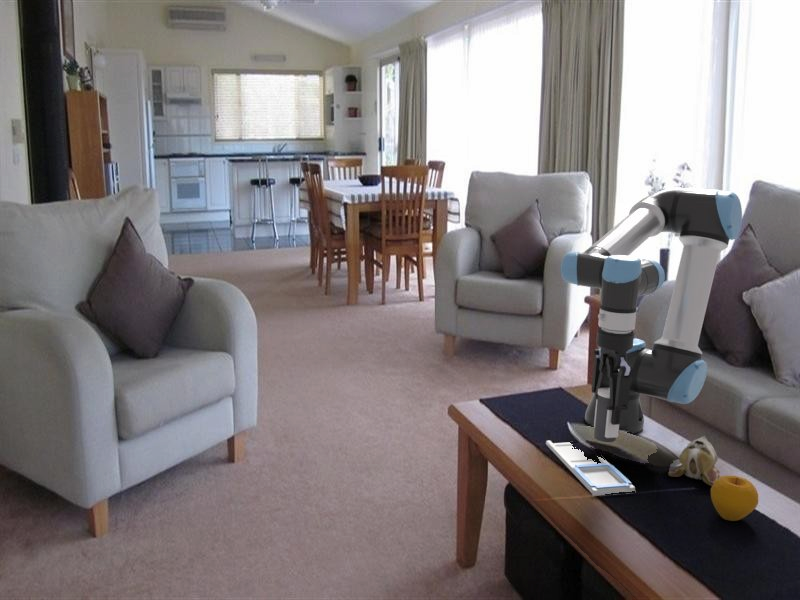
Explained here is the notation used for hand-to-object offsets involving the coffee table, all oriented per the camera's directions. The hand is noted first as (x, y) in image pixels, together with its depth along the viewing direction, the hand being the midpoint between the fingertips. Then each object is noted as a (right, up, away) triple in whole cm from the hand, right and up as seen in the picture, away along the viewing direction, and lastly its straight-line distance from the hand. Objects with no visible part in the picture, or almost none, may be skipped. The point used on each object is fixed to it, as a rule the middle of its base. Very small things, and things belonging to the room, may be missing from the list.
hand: (605, 431), depth 161 cm
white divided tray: (-2, -10, +9) cm, 14 cm away
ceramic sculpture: (+22, -12, +7) cm, 26 cm away
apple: (+22, -16, -11) cm, 30 cm away
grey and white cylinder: (0, -1, 0) cm, 1 cm away
